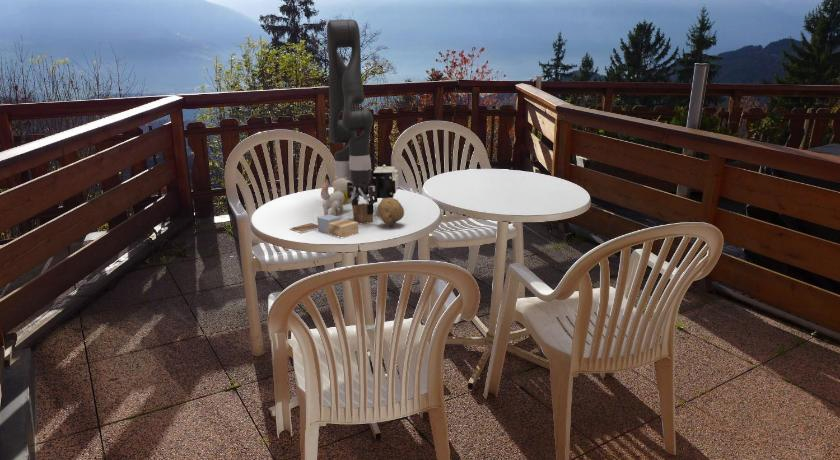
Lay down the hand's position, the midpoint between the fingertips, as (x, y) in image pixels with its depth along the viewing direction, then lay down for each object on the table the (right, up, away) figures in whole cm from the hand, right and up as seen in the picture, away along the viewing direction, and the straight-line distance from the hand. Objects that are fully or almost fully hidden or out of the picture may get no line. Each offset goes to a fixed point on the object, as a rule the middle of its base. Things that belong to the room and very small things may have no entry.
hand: (362, 212), depth 205 cm
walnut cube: (0, -3, +1) cm, 4 cm away
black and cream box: (+8, +1, +15) cm, 17 cm away
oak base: (-5, -8, -13) cm, 16 cm away
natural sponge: (+11, -5, -5) cm, 13 cm away
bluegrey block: (-13, -4, -8) cm, 15 cm away
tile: (-19, -6, -6) cm, 21 cm away
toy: (-11, -1, +11) cm, 16 cm away
